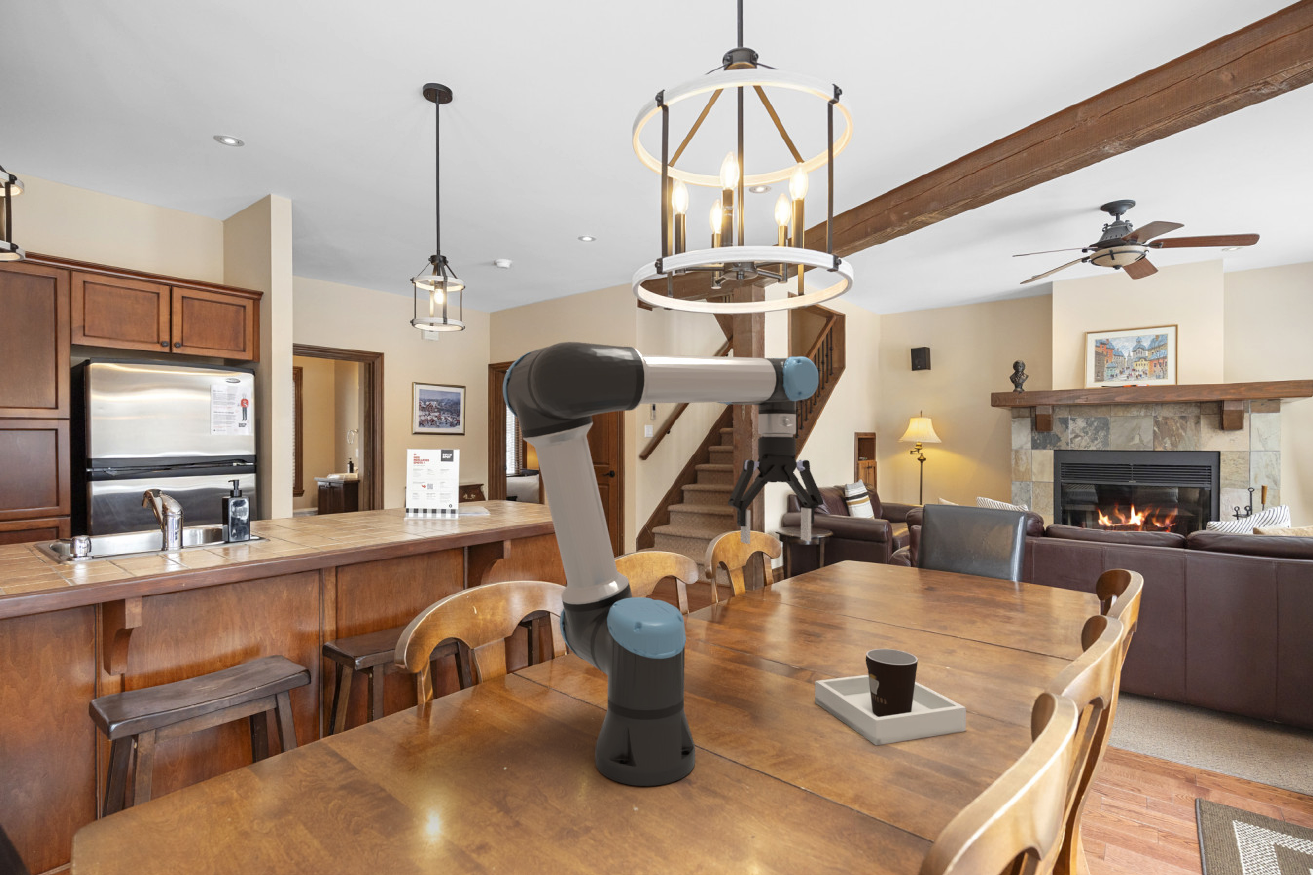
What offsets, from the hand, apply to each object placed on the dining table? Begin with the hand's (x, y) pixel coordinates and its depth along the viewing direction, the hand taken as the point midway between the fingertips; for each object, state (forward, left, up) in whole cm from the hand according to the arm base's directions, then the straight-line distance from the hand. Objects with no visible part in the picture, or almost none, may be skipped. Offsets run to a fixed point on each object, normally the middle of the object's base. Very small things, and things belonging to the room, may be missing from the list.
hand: (776, 541), depth 130 cm
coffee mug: (+13, -19, -28) cm, 36 cm away
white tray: (+12, -19, -29) cm, 36 cm away
